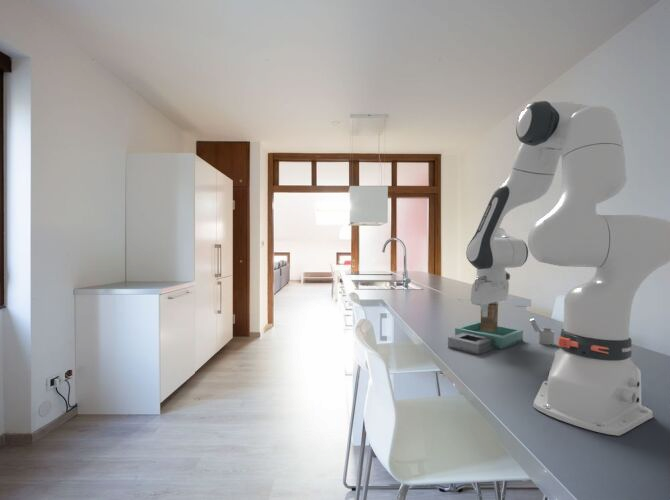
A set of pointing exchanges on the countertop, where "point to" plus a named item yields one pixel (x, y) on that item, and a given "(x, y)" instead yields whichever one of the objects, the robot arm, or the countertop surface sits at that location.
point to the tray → (494, 334)
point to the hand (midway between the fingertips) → (489, 315)
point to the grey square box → (471, 343)
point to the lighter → (543, 333)
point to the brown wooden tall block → (490, 319)
